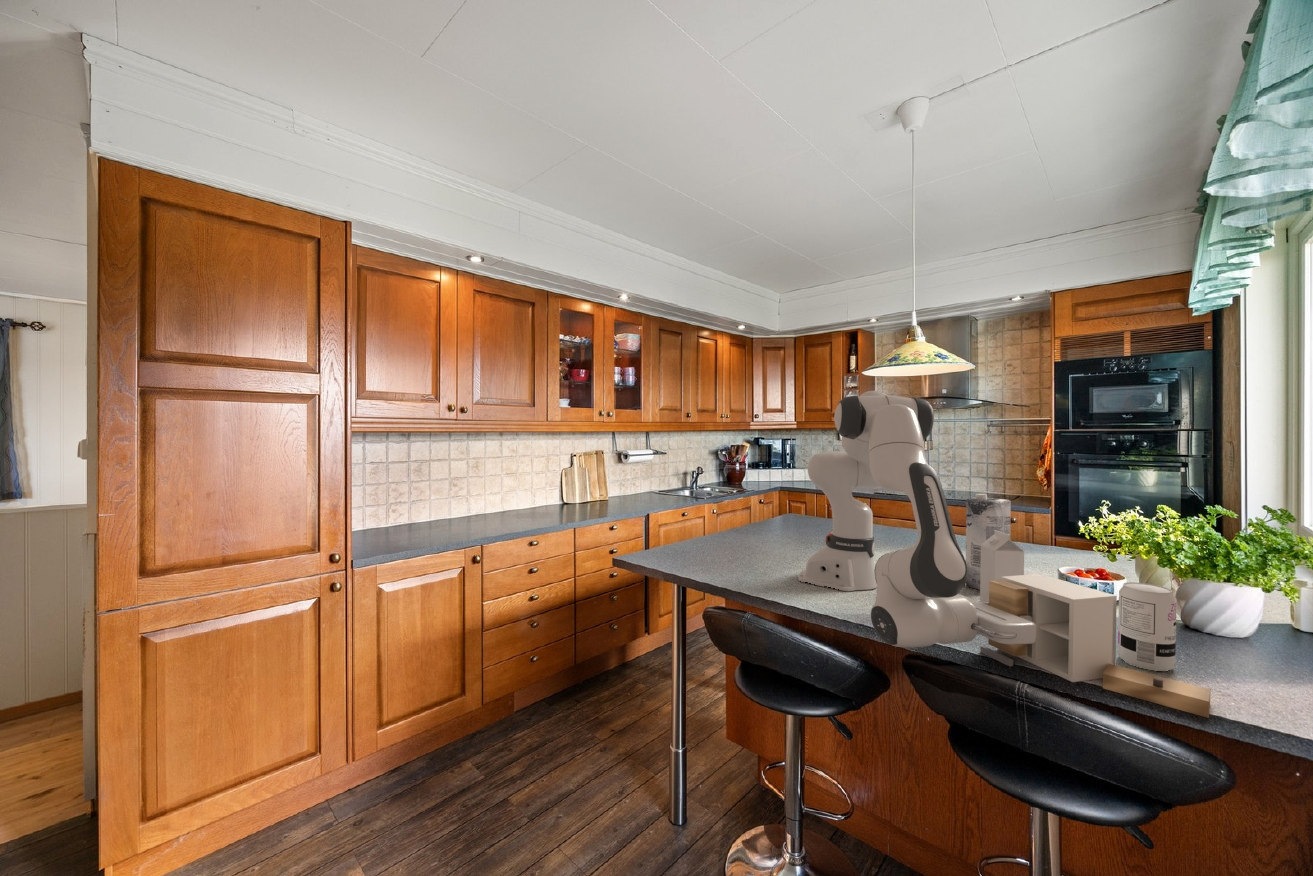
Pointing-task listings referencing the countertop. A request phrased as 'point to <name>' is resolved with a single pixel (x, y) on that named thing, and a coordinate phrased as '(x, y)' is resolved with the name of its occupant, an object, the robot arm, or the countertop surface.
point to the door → (1157, 689)
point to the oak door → (1009, 609)
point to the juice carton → (983, 530)
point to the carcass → (1067, 628)
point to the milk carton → (999, 561)
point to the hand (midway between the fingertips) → (1011, 613)
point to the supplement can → (1147, 626)
